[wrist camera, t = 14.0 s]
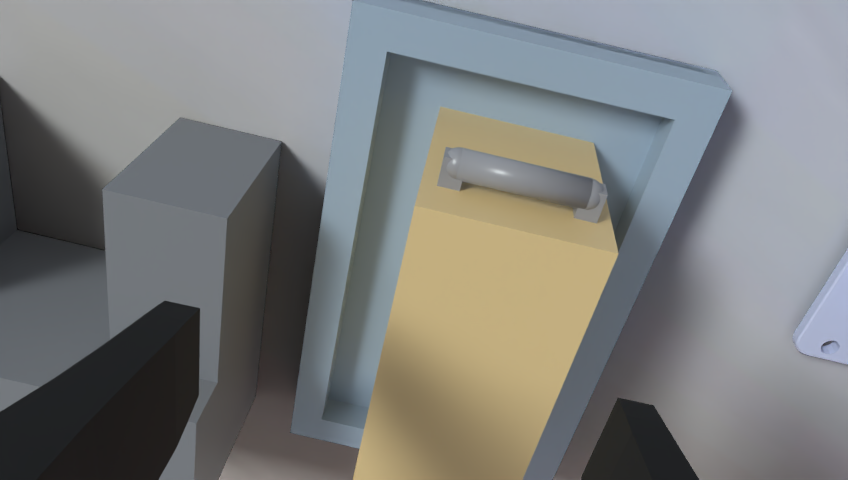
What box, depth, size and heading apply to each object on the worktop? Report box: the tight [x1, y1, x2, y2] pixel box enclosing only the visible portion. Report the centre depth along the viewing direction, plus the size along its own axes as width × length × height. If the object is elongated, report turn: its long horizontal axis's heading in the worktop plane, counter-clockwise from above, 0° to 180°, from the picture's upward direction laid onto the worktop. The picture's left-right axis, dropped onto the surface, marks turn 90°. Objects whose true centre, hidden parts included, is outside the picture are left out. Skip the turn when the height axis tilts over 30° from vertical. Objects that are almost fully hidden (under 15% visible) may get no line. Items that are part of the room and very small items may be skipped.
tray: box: [290, 0, 732, 480], centre depth 21 cm, size 9×15×2 cm, turn 168°
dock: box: [0, 103, 282, 480], centre depth 21 cm, size 11×10×6 cm
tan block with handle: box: [353, 107, 619, 480], centre depth 19 cm, size 4×11×6 cm, turn 168°
